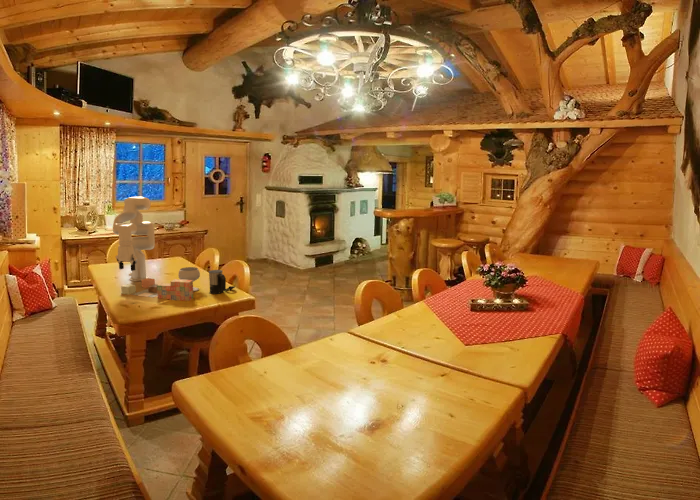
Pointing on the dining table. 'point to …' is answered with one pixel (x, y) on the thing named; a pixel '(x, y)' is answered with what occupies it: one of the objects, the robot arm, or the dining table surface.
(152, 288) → the walnut block
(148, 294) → the board
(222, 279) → the milk frother
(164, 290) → the stack of blocks
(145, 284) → the terracotta block
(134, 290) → the sage block
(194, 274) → the chalice
